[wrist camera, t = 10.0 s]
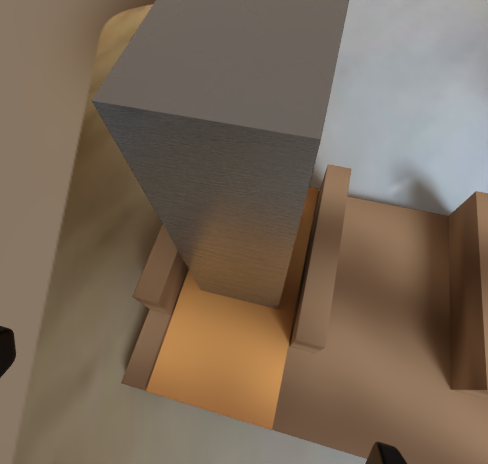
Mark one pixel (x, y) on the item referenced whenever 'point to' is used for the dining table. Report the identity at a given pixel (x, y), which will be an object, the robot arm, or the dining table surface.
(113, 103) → the tall grey box
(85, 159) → the dining table surface
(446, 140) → the dining table surface
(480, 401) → the rail rack
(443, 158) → the dining table surface
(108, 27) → the dining table surface
